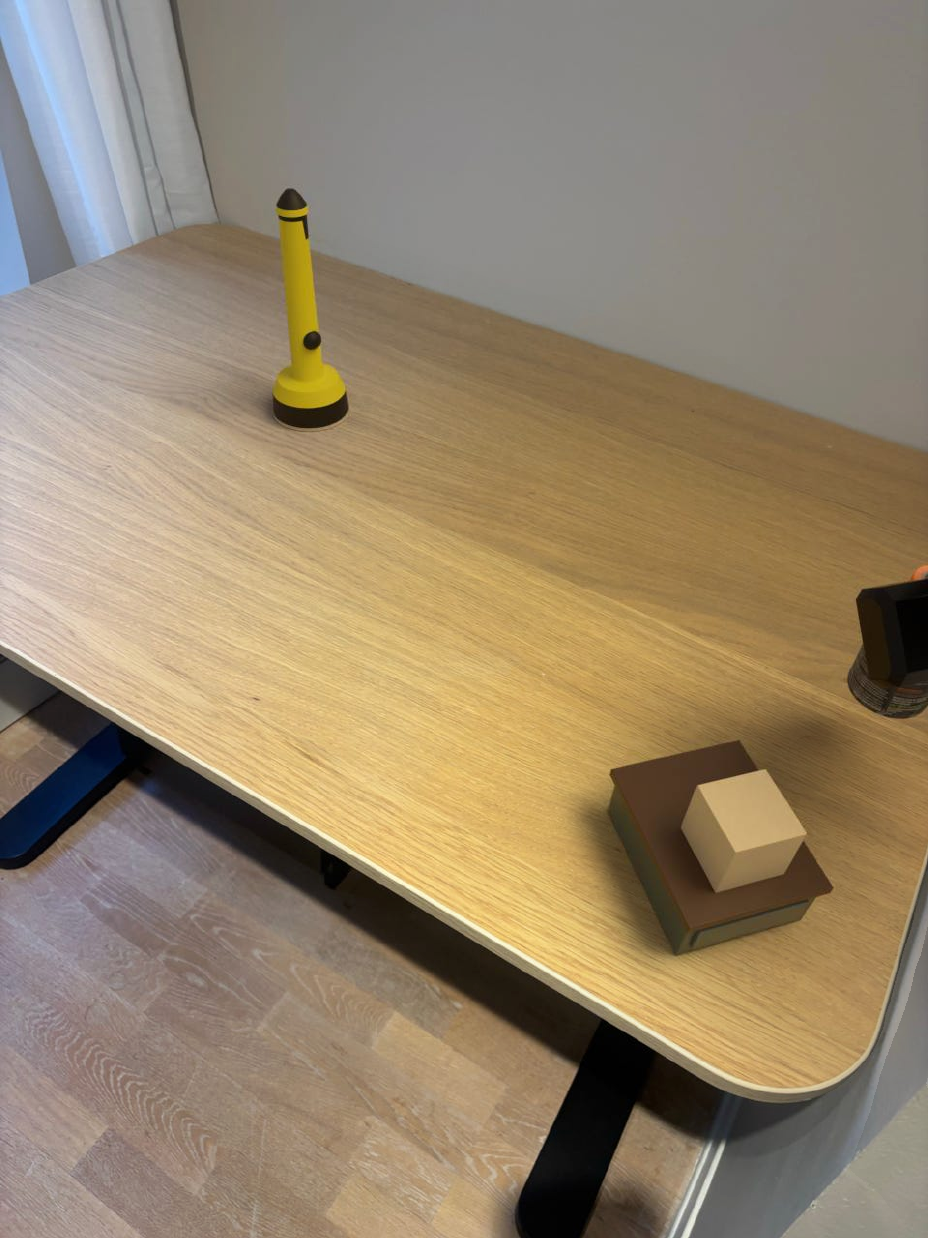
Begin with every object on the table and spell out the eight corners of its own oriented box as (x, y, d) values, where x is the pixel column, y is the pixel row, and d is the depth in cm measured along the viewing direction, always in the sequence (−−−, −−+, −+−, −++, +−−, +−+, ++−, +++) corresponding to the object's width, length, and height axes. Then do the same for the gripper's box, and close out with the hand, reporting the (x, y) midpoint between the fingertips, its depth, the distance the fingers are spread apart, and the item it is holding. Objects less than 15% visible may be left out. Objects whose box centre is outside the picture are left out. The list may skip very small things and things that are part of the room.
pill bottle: (925, 675, 68) (989, 565, 61) (927, 731, 64) (996, 621, 56) (846, 655, 70) (899, 545, 62) (843, 708, 66) (899, 598, 58)
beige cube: (783, 874, 57) (807, 833, 53) (715, 893, 56) (735, 852, 52) (745, 811, 60) (765, 768, 57) (680, 827, 59) (696, 785, 56)
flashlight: (228, 183, 87) (270, 211, 82) (307, 168, 91) (352, 194, 86) (259, 405, 104) (296, 439, 99) (325, 384, 108) (363, 416, 103)
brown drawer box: (809, 924, 60) (834, 888, 56) (672, 963, 57) (689, 928, 54) (722, 778, 68) (739, 739, 65) (599, 807, 66) (610, 768, 62)
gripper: (1213, 444, 50) (994, 491, 65) (939, 488, 46) (774, 527, 61) (1245, 635, 50) (1019, 638, 65) (974, 695, 46) (801, 683, 61)
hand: (906, 618), depth 63 cm, fingers closed on pill bottle, 6 cm apart
